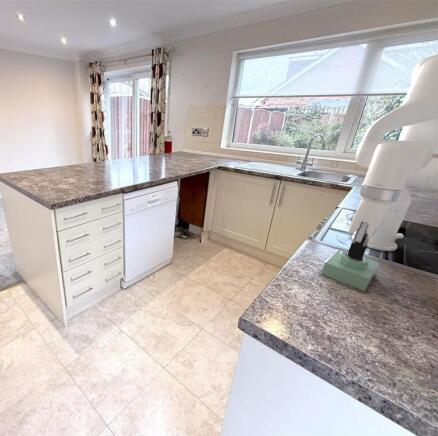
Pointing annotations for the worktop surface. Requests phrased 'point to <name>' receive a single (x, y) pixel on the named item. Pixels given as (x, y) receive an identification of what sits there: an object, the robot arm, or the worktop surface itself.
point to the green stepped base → (350, 270)
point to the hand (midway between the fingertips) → (354, 256)
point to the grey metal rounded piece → (354, 258)
